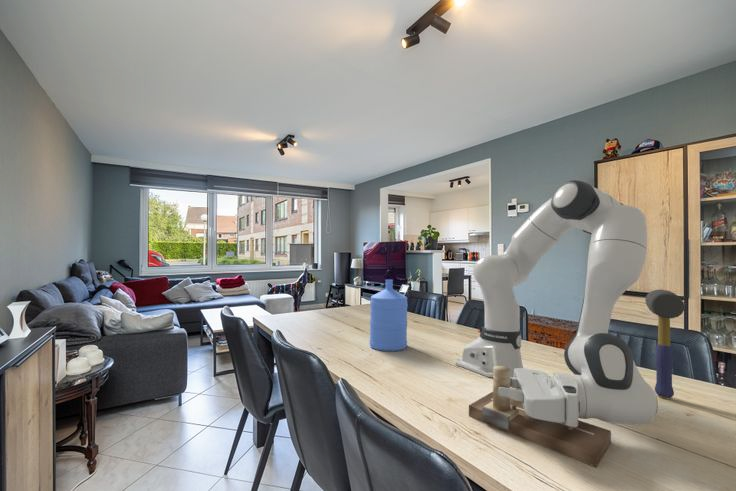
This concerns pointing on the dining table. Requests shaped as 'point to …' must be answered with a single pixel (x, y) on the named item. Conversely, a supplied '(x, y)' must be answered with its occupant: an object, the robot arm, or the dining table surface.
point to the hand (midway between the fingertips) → (497, 386)
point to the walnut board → (553, 433)
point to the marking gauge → (500, 400)
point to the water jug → (388, 319)
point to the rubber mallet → (664, 337)
